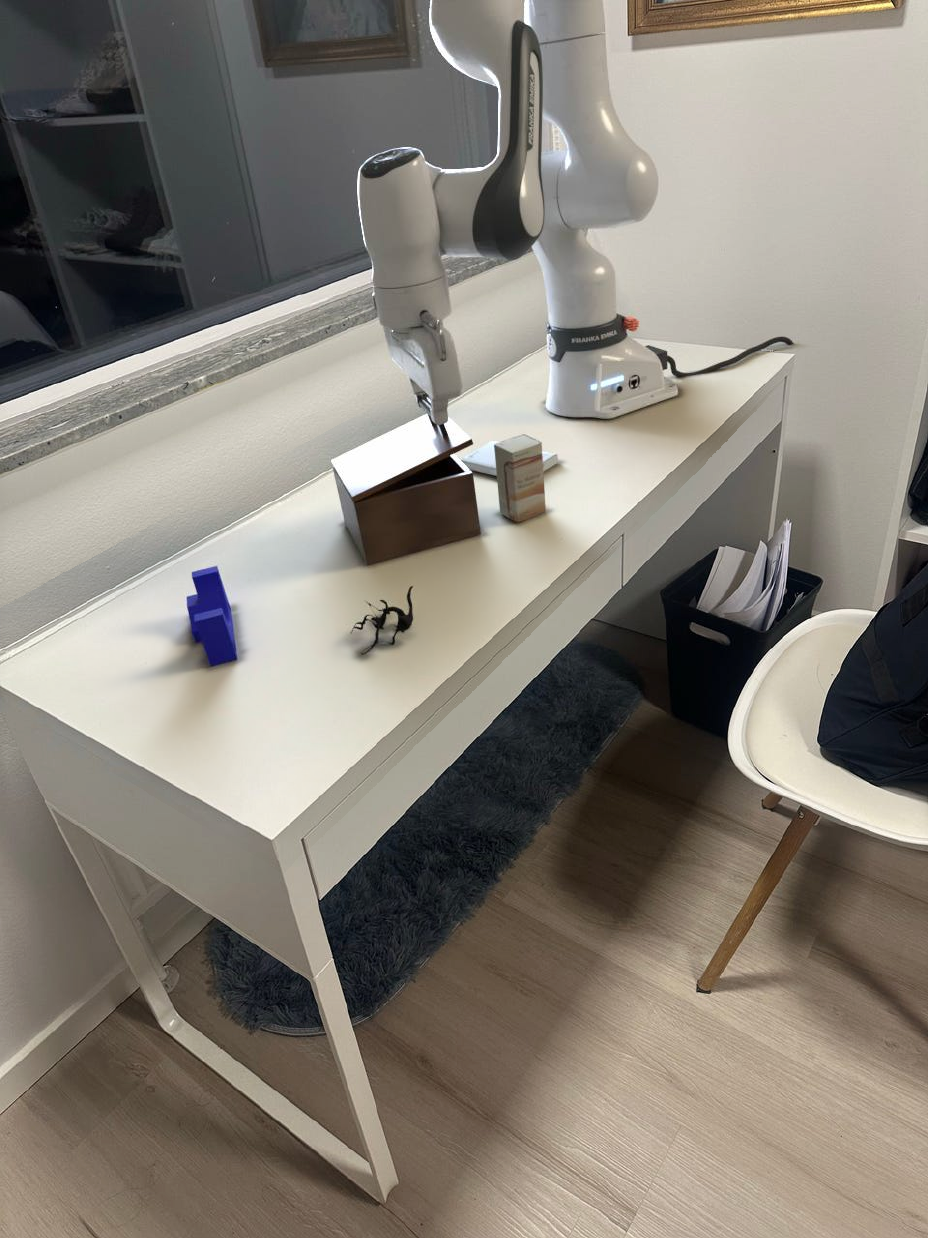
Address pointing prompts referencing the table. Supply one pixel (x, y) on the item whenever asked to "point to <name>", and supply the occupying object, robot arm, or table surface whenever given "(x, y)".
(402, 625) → the creature
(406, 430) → the lid
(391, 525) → the chest
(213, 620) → the cable clip
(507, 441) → the small cardboard box
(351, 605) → the table surface
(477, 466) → the hard drive
